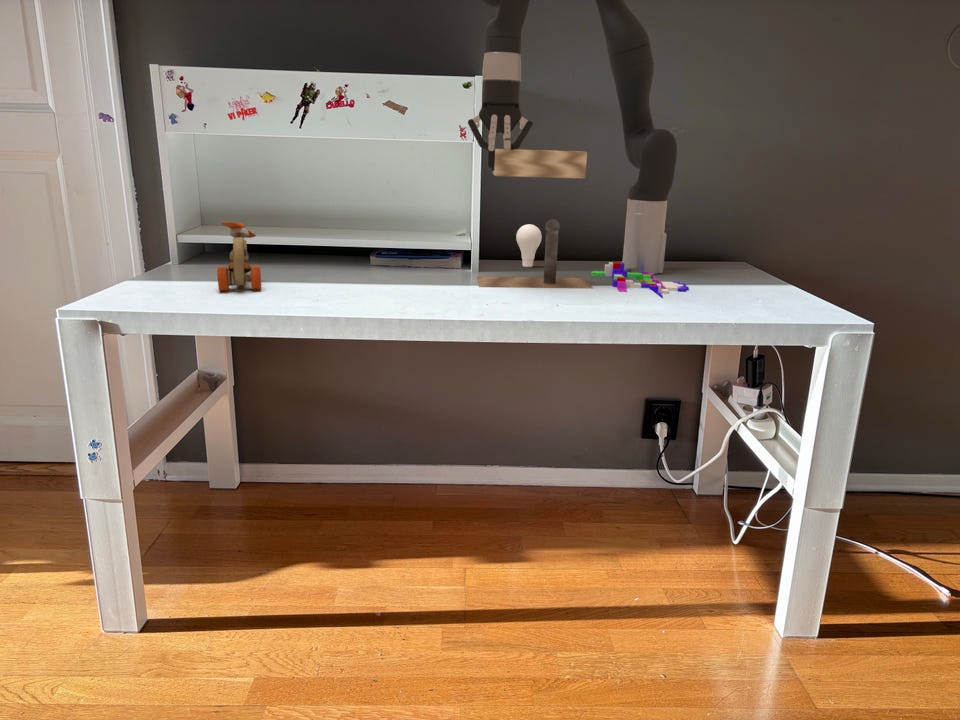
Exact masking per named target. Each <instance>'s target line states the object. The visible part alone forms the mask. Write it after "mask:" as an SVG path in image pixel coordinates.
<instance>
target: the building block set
mask: <svg viewBox="0 0 960 720" xmlns="http://www.w3.org/2000/svg"><path fill="white" fill-rule="evenodd" d="M590 275H591V276H592V277H611V278H612V288H617V291H618V292H621V293H628V290H627V288H629V289H631V288H632V289H649V290H650V291H652V292H653V293H655V294H656V295H657V296H658V297H660V298H661V299H663V294H664V295H667V294H670V291H671V292H672V291H674V292H678V293H687V291H690V287H689V286H687V284H686V283H685V282H681V281H677V280H675V281H674V280H673V281H660V279H659V278H654V274H651V273H648V272H641V273H629V272H627V270H624V263H622V262H614V261H613V262H612V261H611V262H610V261H609V262H608V264H604V271H598V270H596V271H595V270H593V271H591V273H590ZM626 278H635V279H636V280H637V281H638V282H634V281H633V279H626Z"/></svg>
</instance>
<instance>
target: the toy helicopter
mask: <svg viewBox="0 0 960 720" xmlns="http://www.w3.org/2000/svg"><path fill="white" fill-rule="evenodd" d="M221 225H222V226H225V227H227V228H229V229H230V230H229V235H230V236H231V237H232V238H233V239H232V250H230V253H229V260H230V263H228V264H227V265H228V266H218V267H217V285H218V291H220V292H228V291H229V289H230V287H233V286H237V287H239V286H242V287H243V286H245V285H246V284H247V282H250V283H251V284H250V285H251V286H250V287H251V289H252V290H253V291H259V290H262V275H261V274H262V273H261V267H260V266H259V265H252V266H251V264H250V263H248V261H249V258H250V257H249V253H248V244H247V240H246V239H250V238H251V239H252V238H255V237H256V236H257V234H255V233H254V232H252V231H251V230H249V229H246V226H245V224H244V223H241V222H234V221H223V222H221ZM248 273H250V275H247V274H248Z"/></svg>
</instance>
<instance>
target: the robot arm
mask: <svg viewBox="0 0 960 720" xmlns="http://www.w3.org/2000/svg"><path fill="white" fill-rule="evenodd" d="M530 1H531V0H482V2H483V3H484V4H485V5H487V6H488V7H491V8H494V9H498V10H497V14H496V16H495V17H494V18H493V19H492V20H490V21H488V22H487V24H486V26H485V30H484V48H483V49H484V50H483V51H484V53H483V62H482V63H483V64H482V74H481V76H482V79H481V80H482V81H481V107H480V109H479V112H478V115H476V116H474V117H473V118H470V119H468V120H467V125H468V127H469V128H470V131H471V132H472V134H473V136H474V138H475V140H476V142H477V144H478V146H479V147H480V148H482V149H485V150H486V151H487V168H489V169H490V171H491V172H493V171H494V166H495V152H494V149H495V144H496V143H495V142H496V135H497V134H498V133H500V134H503V136H502V137H503V149H504V150H514V149H519V148H520V147H521V145H522V143H523V141H524V140H525V138H526V136H527V135H528V134H529V131H530V130H531V129H532V127H533V121H531V120H528V119H526V118H525V117H523V116H522V115H523V114H522V110H521V109H520V102H521V101H520V100H521V80H522V62H521V61H522V60H521V53H522V52H521V50H522V49H521V48H522V29H523V28H524V24H525V21H526V17H527V13H528V9H529V5H530ZM595 4H596V7H597V12H598V15H599V18H600V22H601V27H602V32H603V35H604V39H605V44H606V51H607V54H608V55H607V56H608V59H609V65H610V70H611V74H612V77H613V80H614V85H615V92H616V95H617V96H616V97H617V100H618V101H617V102H618V104H619V105H618V106H619V110H620V114H621V122H622V130H623V140H624V141H623V142H624V149H625V154H626V157H627V160H628V161H629V163H630V165H632V166H633V167H634V168H636V169H639V172H638V178H637V180H636V182H635V183H634V184H632V185H631V186H629V188H628V193H627V203H626V204H627V205H626V206H627V207H626V217H625V229H624V230H625V231H624V240H623V242H624V243H623V250H622V251H623V252H622V261H621V263H624V270H627V272H629V273H641V272H648V273H651V274H653V275H657V274H663V273H664V265H665V255H666V254H665V253H666V245H667V236H668V235H667V233H666V232H665V226H666V217H667V209H668V199H669V193H670V191H671V189H672V187H673V183H674V178H675V171H676V170H675V169H676V164H677V157H678V143H677V140H676V137H675V135H674V133H672V132H671V131H670V130H667V129H663V128H655V126H654V122H653V120H652V119H653V118H652V114H651V109H650V108H651V107H650V96H651V88H652V84H653V79H654V70H655V69H654V68H655V67H654V66H655V65H654V64H655V63H654V57H653V52H652V48H651V42H650V38H649V35H648V32H647V30H646V29H645V27H644V26H643V24H642V23H641V21H640V20H639V19H638V17H637V16H636V15H635V14H634V13H633V11H631V9H630V8H629V6H628V5H627V3H626V2H625V0H595ZM480 122H481V123H482V124H483V125H484V127H485V129H486V130H487V131H488V140H487V141H488V142H486V141H485V140H484V138H483V137H482V135H481V133H480V132H481V131H480V130H479V128H480V127H481V123H480ZM518 123H520V125H519V129H520V132H519V133H518V135H517V136H516V138H515V140H514V142H513V143H511V133H512V131H513V130H514V129H515V127H516V126H517V125H518Z"/></svg>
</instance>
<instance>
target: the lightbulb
mask: <svg viewBox="0 0 960 720" xmlns="http://www.w3.org/2000/svg"><path fill="white" fill-rule="evenodd" d="M515 236H516V237H515V238H516V239H515V240H516V242H517V245H518V247H519V249H520V252H521V253H520V254H521V259H522V263H521V264H522V267H526V268H532V267H533V266H534V260H535V255H536V252H537V250H538V247H539V246H540V244H541V243H542V238H543V237H542V231H541V230H540V228H539V227H538V226H536V225H535V224H531V223H530V224H529V223H528V224H524V225H522V226H520V227H519V229H518V230H517V231H516V234H515Z"/></svg>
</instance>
